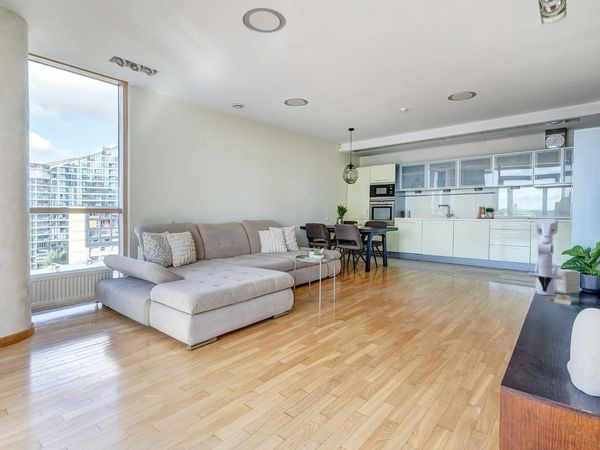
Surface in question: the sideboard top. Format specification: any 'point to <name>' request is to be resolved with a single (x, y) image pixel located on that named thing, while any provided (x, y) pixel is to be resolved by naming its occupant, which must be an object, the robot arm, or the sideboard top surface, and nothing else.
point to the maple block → (563, 297)
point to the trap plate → (551, 300)
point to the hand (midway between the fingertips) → (544, 291)
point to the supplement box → (568, 281)
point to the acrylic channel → (563, 301)
